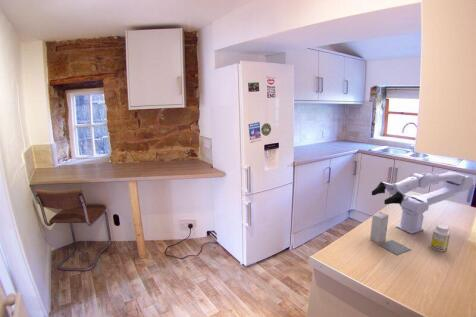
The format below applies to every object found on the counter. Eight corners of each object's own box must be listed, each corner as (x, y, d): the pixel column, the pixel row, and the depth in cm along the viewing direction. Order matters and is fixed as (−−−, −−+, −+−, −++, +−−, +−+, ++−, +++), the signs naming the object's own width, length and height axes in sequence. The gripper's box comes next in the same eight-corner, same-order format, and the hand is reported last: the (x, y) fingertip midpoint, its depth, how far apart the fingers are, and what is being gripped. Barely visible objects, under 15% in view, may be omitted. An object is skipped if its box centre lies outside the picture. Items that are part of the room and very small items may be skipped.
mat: (392, 240, 121) (392, 239, 121) (410, 249, 113) (410, 249, 113) (378, 244, 117) (378, 244, 117) (396, 255, 109) (396, 254, 109)
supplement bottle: (440, 244, 117) (444, 223, 114) (449, 251, 112) (454, 229, 109) (427, 244, 117) (431, 223, 114) (436, 251, 112) (441, 229, 109)
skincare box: (378, 243, 118) (382, 218, 115) (369, 238, 122) (372, 214, 119) (386, 239, 121) (389, 214, 118) (376, 235, 125) (379, 211, 122)
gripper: (390, 173, 128) (367, 183, 126) (417, 188, 115) (391, 199, 113) (390, 184, 131) (366, 194, 129) (416, 200, 119) (390, 211, 116)
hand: (378, 197), depth 121 cm, fingers open, 7 cm apart
